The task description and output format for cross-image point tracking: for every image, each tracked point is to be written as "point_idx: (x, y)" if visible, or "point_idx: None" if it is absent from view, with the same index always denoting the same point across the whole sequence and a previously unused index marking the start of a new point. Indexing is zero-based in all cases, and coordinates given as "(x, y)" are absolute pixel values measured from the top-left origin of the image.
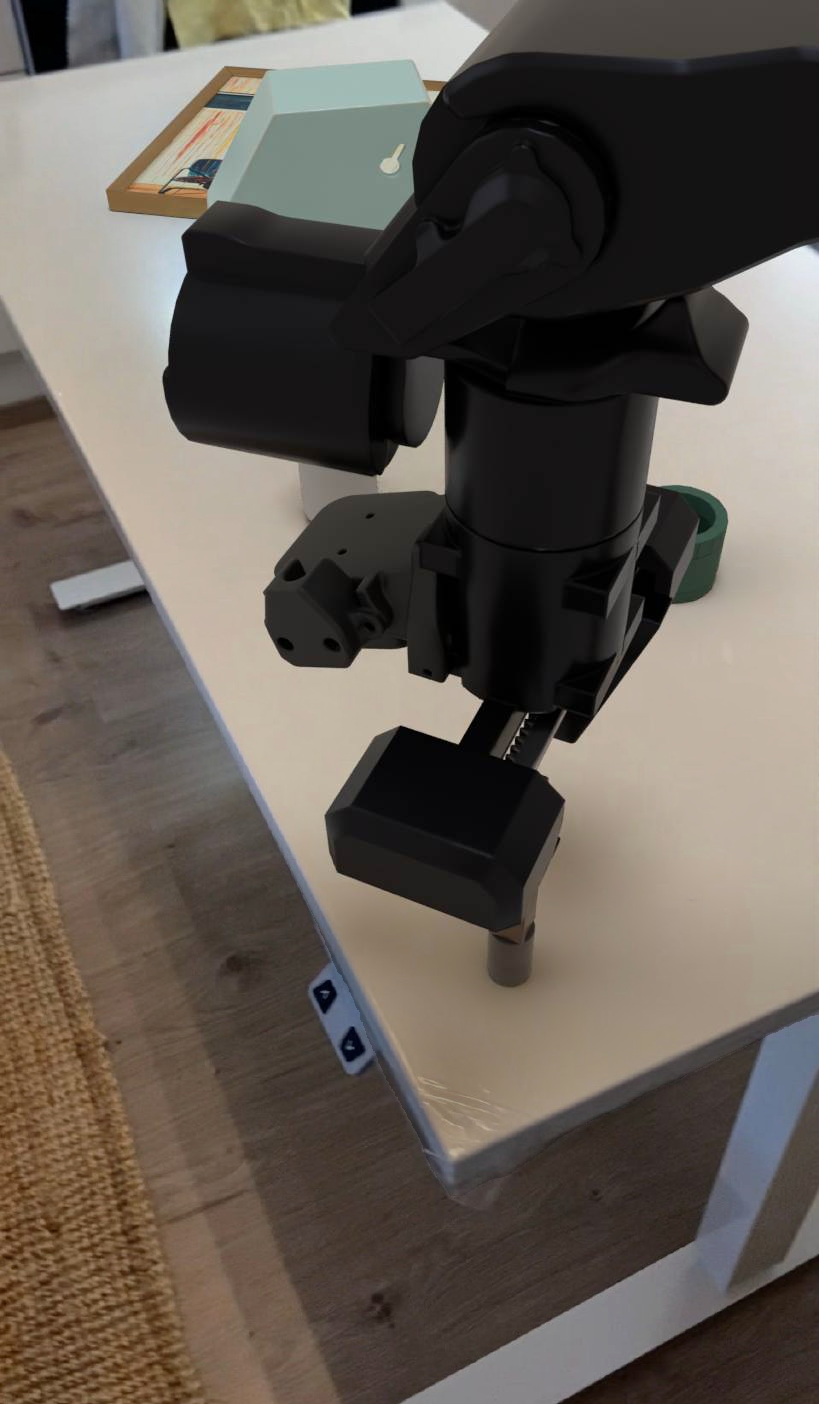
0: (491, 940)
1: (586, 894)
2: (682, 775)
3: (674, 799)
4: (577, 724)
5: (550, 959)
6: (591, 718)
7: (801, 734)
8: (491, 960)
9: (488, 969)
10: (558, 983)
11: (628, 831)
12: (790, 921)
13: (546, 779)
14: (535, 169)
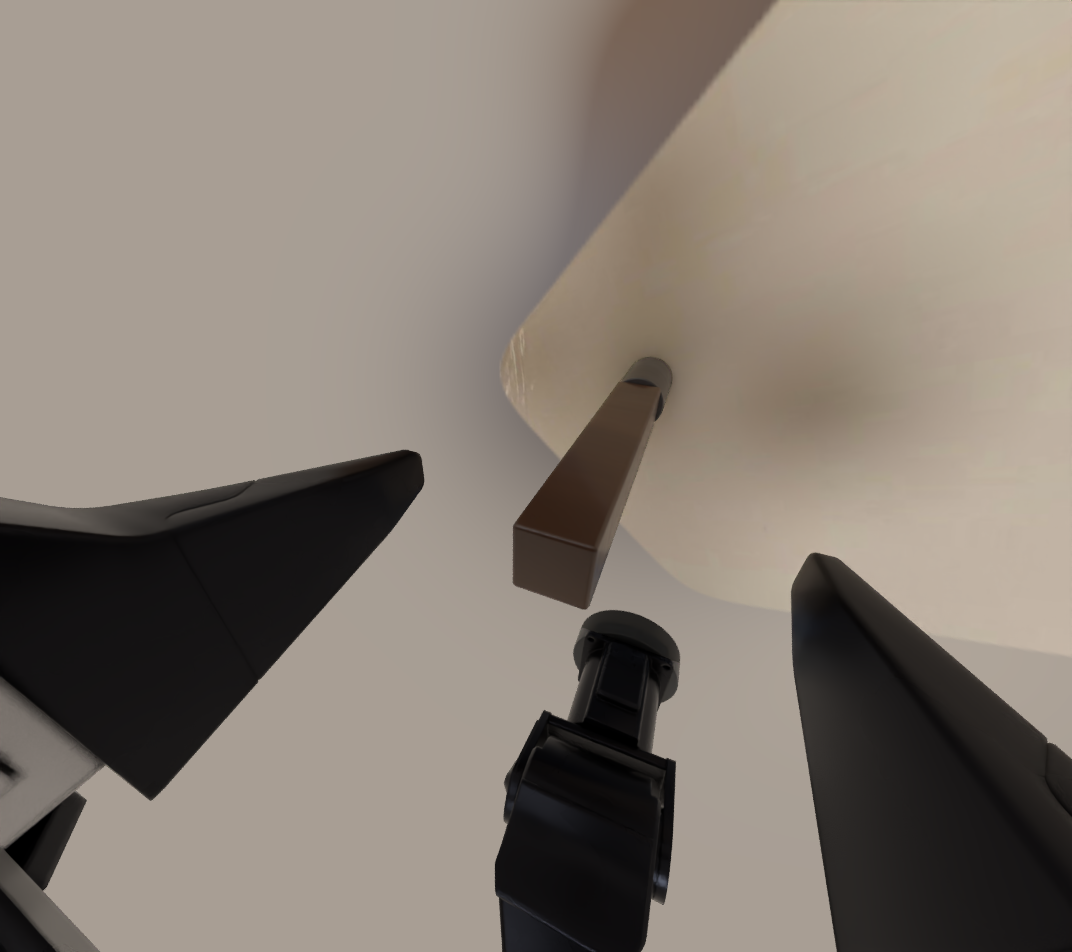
0: (621, 381)
1: (758, 438)
2: (984, 528)
3: (931, 518)
4: (800, 639)
5: (668, 415)
6: (797, 684)
7: (1066, 650)
8: (626, 373)
9: (635, 363)
10: None
11: (867, 472)
12: (750, 595)
13: (577, 607)
14: None
